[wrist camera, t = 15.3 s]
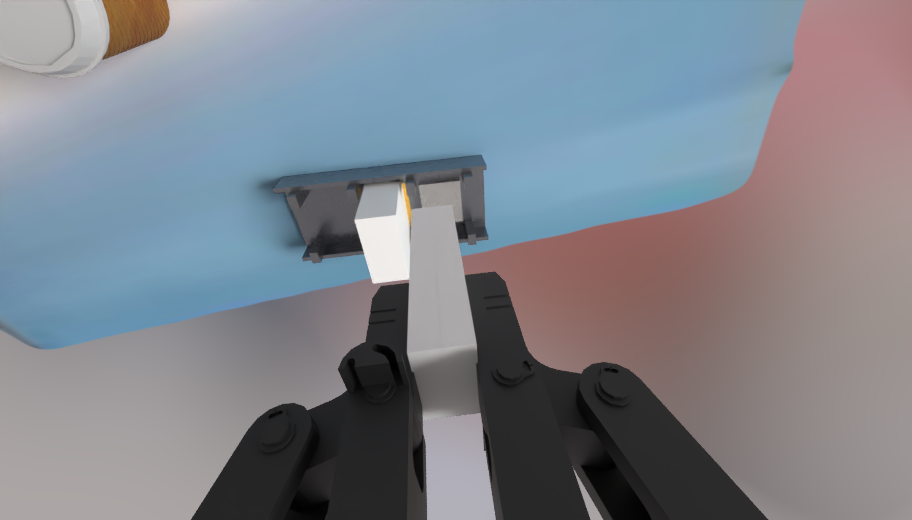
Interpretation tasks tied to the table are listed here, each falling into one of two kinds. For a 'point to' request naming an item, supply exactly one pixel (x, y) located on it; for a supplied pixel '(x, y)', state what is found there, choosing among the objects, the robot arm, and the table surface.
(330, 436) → the robot arm
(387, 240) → the white box
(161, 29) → the disposable coffee cup
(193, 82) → the table surface
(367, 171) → the rack
